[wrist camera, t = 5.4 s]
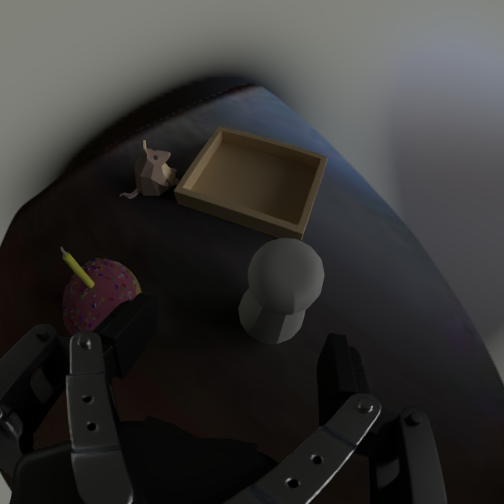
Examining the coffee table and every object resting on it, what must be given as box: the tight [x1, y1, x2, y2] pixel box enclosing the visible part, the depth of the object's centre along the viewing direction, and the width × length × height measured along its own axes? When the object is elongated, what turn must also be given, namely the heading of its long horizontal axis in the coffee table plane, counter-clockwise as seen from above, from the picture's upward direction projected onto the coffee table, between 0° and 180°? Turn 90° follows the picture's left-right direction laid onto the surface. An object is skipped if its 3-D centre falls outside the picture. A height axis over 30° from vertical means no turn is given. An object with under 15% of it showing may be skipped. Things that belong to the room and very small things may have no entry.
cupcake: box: [60, 247, 142, 336], centre depth 20 cm, size 9×8×12 cm
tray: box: [174, 126, 328, 241], centre depth 32 cm, size 15×12×3 cm
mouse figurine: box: [120, 140, 179, 199], centre depth 30 cm, size 5×8×7 cm, turn 111°
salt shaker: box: [238, 238, 325, 344], centre depth 20 cm, size 6×6×13 cm
